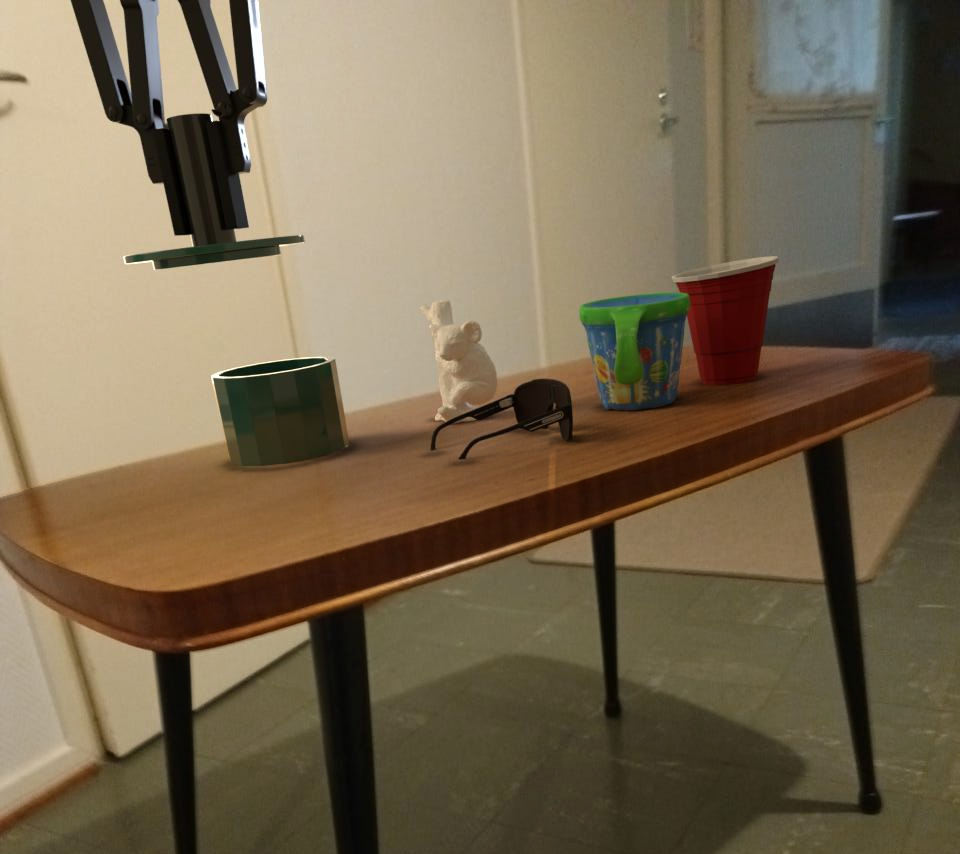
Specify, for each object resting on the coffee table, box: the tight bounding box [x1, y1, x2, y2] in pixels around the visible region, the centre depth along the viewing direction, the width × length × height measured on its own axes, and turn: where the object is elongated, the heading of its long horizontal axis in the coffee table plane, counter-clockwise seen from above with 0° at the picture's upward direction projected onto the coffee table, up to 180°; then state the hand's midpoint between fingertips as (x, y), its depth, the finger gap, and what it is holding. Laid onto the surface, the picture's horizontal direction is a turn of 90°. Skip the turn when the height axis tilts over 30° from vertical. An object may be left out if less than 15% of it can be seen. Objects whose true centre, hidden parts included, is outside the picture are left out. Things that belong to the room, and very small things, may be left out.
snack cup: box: [578, 292, 690, 412], centre depth 96 cm, size 16×10×10 cm
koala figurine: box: [420, 298, 498, 425], centre depth 100 cm, size 8×7×12 cm
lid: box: [122, 112, 306, 271], centre depth 67 cm, size 12×12×9 cm
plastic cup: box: [671, 255, 780, 386], centre depth 103 cm, size 11×11×12 cm
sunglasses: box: [430, 377, 574, 460], centre depth 86 cm, size 11×12×5 cm
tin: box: [210, 356, 350, 467], centre depth 93 cm, size 11×11×8 cm
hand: (212, 230), depth 68 cm, fingers closed on lid, 3 cm apart
